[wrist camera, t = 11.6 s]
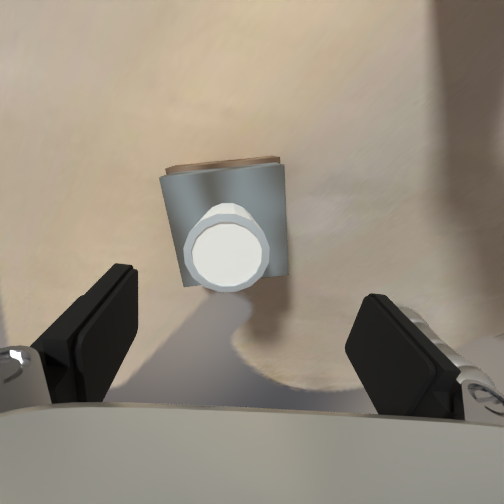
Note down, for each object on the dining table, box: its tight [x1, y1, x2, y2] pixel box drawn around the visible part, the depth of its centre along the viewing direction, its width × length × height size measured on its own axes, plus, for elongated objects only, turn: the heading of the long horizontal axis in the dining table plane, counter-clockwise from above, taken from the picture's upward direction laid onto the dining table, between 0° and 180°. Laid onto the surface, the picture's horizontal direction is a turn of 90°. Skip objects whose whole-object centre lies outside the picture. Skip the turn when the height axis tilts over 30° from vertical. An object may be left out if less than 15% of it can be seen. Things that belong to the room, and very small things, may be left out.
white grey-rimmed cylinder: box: [183, 203, 270, 292], centre depth 23 cm, size 7×7×7 cm
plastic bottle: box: [399, 307, 496, 389], centre depth 36 cm, size 6×7×20 cm
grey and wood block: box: [159, 156, 288, 287], centre depth 31 cm, size 13×13×10 cm
